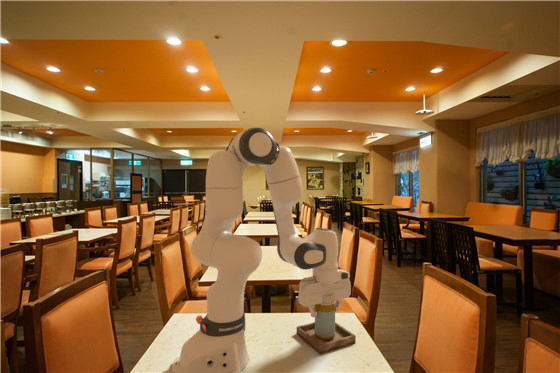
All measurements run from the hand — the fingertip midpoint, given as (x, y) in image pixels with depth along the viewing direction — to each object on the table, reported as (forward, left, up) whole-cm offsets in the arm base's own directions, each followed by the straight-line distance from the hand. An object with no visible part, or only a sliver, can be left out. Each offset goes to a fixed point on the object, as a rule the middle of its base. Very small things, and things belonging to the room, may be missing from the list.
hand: (325, 313), depth 105 cm
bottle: (0, 0, -8) cm, 8 cm away
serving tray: (0, 0, -9) cm, 9 cm away
